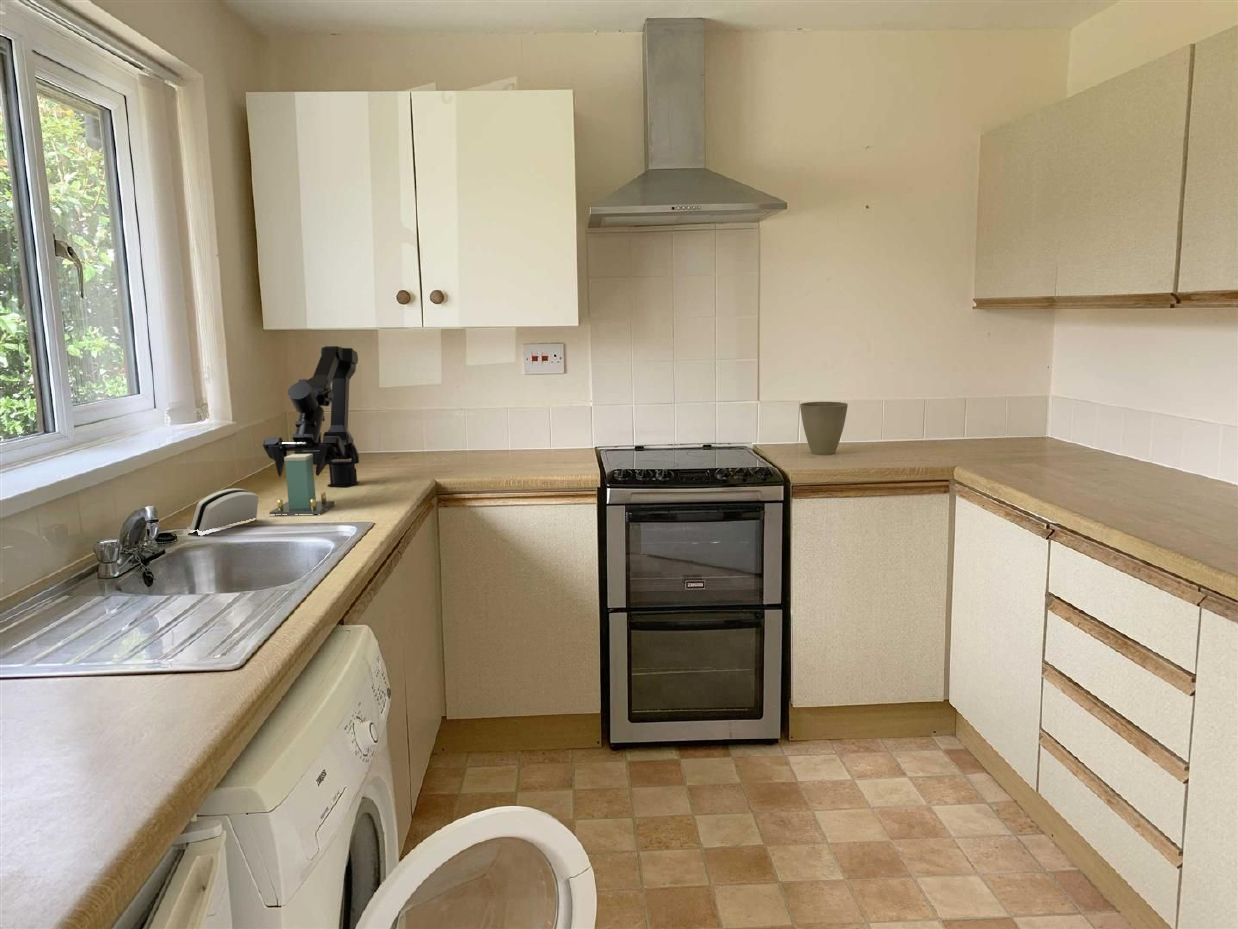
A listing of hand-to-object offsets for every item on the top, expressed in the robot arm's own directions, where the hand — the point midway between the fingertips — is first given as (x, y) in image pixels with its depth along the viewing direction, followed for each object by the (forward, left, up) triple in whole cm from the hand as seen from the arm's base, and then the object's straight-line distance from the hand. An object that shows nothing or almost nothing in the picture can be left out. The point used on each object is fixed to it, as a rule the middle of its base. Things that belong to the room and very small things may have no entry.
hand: (298, 475), depth 225 cm
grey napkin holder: (-7, -18, -9) cm, 22 cm away
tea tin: (0, +1, -8) cm, 8 cm away
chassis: (0, +1, -9) cm, 9 cm away
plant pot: (+119, +108, -9) cm, 161 cm away
